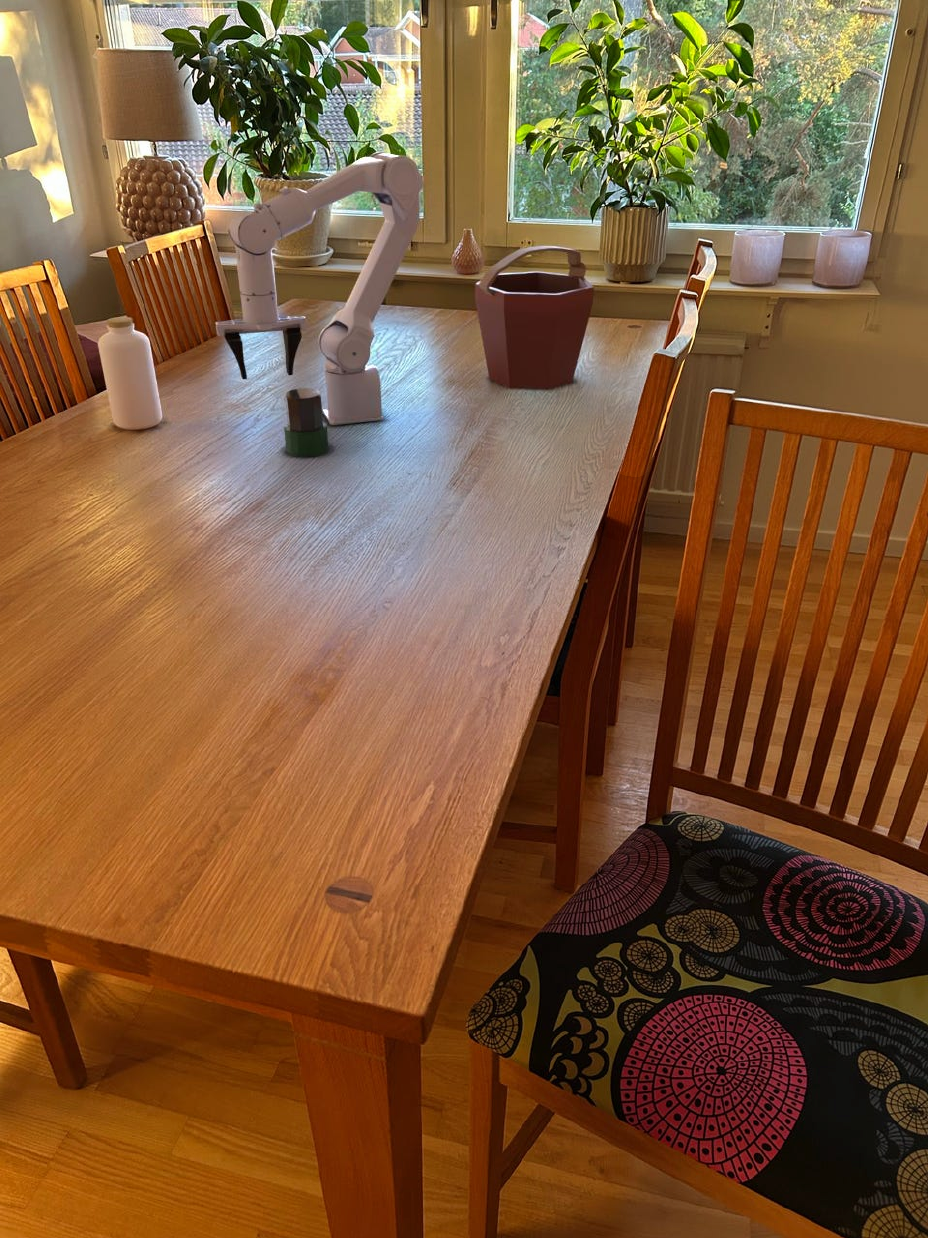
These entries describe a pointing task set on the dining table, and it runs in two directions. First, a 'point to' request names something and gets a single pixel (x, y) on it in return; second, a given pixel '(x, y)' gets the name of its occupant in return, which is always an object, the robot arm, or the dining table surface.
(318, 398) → the faceted brown jar
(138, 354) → the potion bottle
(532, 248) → the bucket
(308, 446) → the bottle
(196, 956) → the dining table surface
